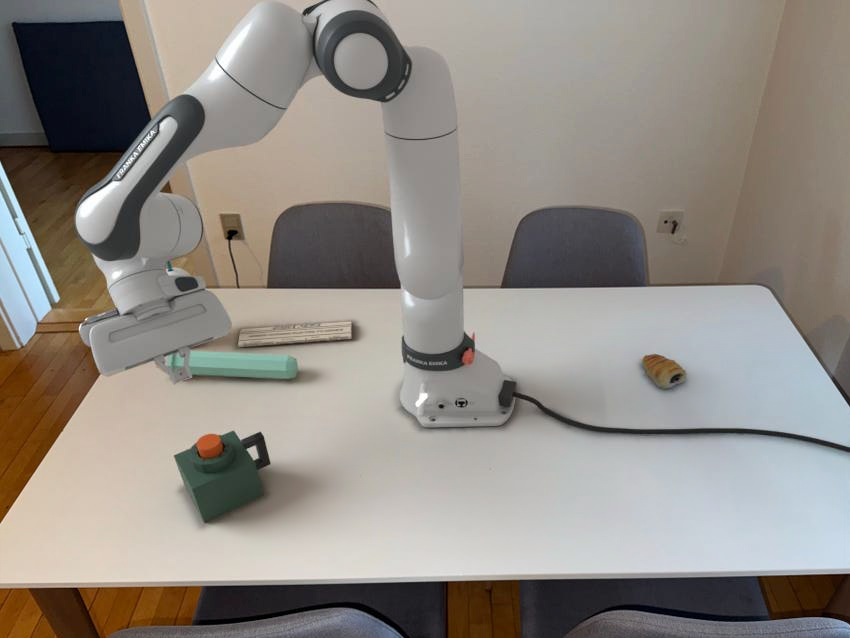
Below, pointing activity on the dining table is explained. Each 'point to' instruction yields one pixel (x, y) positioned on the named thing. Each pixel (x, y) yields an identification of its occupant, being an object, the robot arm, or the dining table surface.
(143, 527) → the dining table surface
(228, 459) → the button housing
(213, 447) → the button
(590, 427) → the robot arm
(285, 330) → the newspaper
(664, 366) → the pastry
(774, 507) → the dining table surface
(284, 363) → the container
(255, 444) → the jug handle
